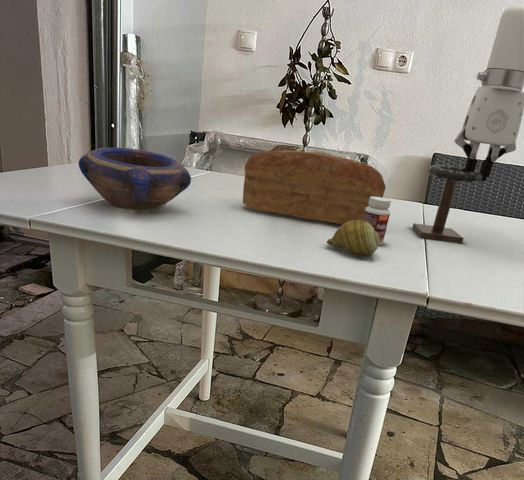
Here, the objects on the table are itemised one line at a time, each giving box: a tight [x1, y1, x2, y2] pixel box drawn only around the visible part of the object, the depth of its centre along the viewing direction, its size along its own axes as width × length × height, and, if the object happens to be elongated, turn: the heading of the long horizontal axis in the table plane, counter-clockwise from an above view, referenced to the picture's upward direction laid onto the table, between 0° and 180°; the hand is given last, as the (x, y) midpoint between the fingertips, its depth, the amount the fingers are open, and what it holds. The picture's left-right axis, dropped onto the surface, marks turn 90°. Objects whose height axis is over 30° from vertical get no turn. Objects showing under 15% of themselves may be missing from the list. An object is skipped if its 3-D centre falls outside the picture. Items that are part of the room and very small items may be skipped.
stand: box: [411, 179, 464, 244], centre depth 110 cm, size 9×9×13 cm
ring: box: [427, 164, 483, 183], centre depth 107 cm, size 11×11×2 cm
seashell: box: [326, 220, 382, 258], centre depth 89 cm, size 10×7×8 cm
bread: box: [242, 149, 387, 226], centre depth 111 cm, size 12×31×14 cm, turn 78°
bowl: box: [78, 147, 192, 211], centre depth 98 cm, size 18×18×10 cm
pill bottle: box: [363, 197, 392, 246], centre depth 97 cm, size 5×5×8 cm
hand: (474, 178), depth 107 cm, fingers closed on ring, 2 cm apart
